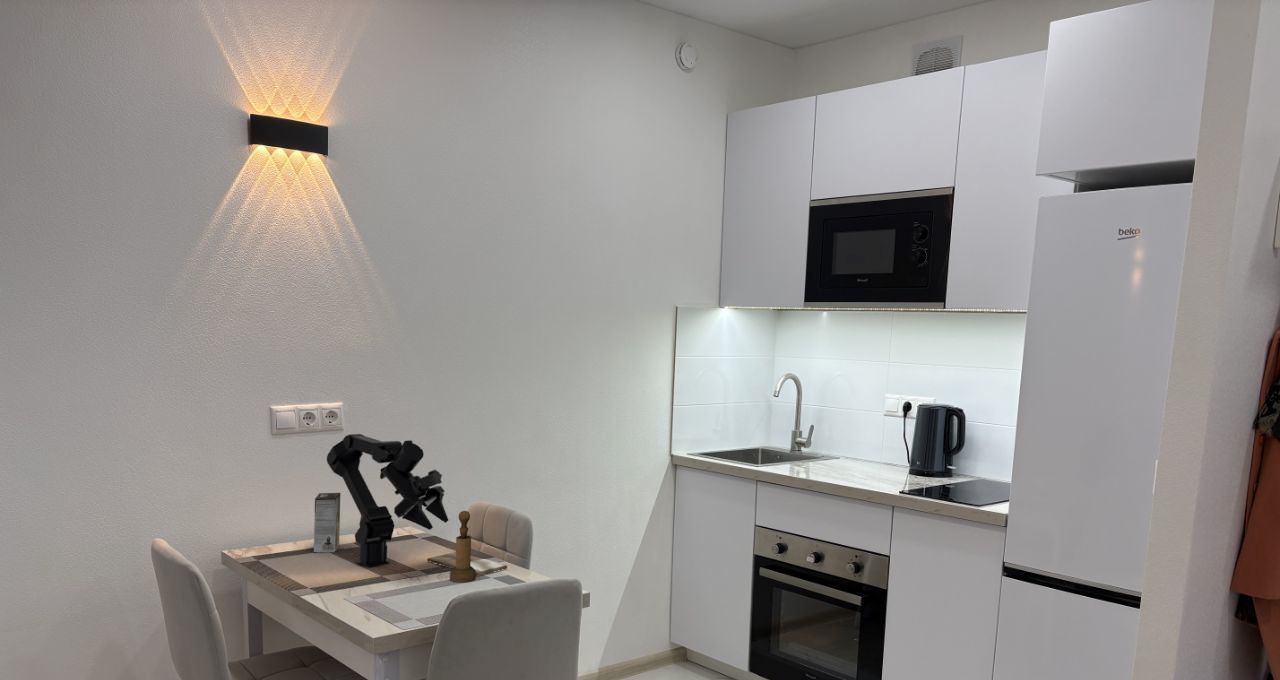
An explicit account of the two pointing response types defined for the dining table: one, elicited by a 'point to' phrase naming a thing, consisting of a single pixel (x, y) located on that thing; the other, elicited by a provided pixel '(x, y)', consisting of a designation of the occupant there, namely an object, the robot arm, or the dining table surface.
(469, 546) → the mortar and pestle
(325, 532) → the coffee box
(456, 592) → the dining table surface
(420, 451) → the robot arm
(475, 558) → the grey brown flat rectangle
